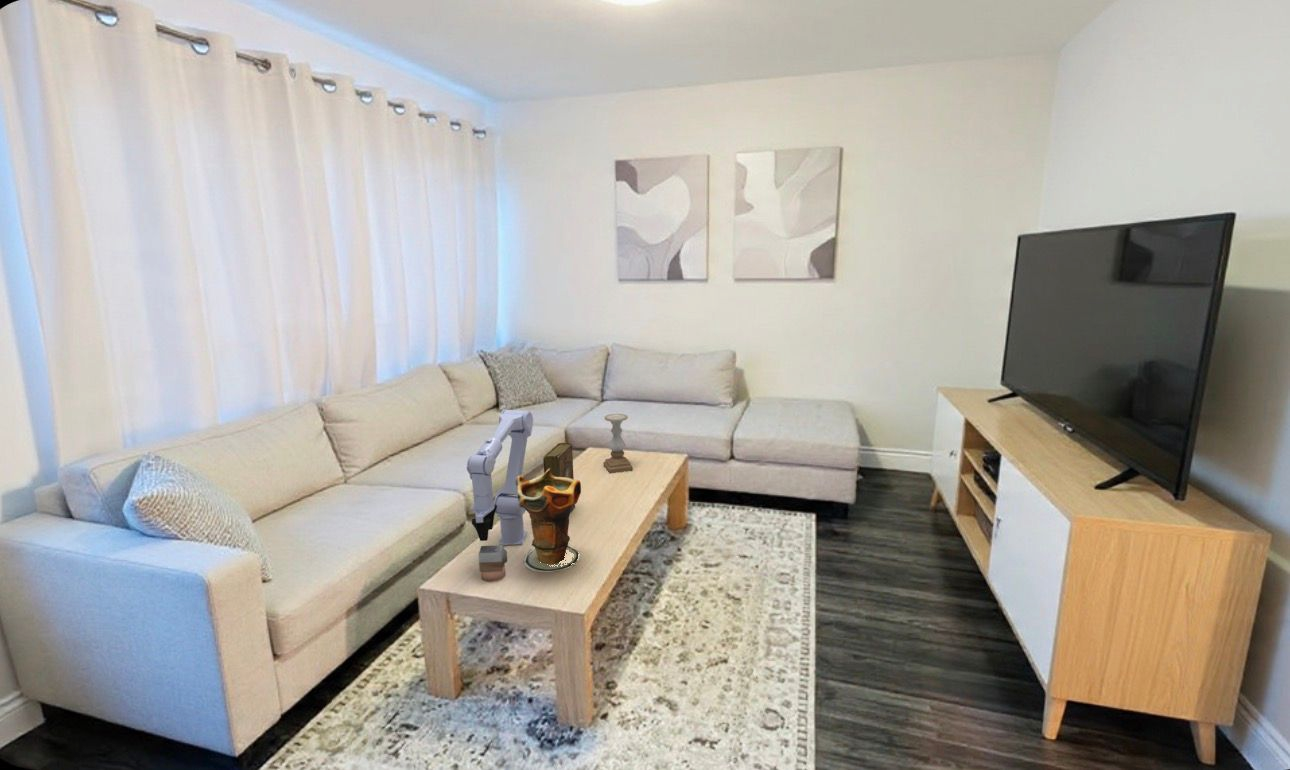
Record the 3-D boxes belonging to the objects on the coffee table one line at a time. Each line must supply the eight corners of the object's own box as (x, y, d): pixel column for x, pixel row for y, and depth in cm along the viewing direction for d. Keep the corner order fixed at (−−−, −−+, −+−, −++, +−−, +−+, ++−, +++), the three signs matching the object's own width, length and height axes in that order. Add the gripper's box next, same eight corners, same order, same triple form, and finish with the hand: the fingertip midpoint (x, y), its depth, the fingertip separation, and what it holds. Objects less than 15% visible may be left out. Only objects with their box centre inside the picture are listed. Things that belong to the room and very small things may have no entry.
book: (562, 505, 230) (559, 442, 225) (576, 506, 229) (573, 443, 224) (547, 523, 214) (543, 456, 209) (561, 524, 213) (558, 457, 208)
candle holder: (603, 465, 273) (601, 414, 268) (626, 462, 276) (624, 412, 271) (609, 473, 263) (607, 420, 258) (633, 470, 266) (631, 418, 261)
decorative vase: (550, 534, 205) (548, 456, 198) (599, 557, 191) (599, 474, 184) (500, 558, 189) (496, 475, 182) (550, 585, 175) (547, 496, 168)
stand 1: (484, 570, 183) (483, 562, 182) (507, 568, 183) (506, 561, 183) (479, 582, 176) (478, 574, 176) (503, 580, 176) (502, 573, 176)
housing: (482, 564, 181) (481, 546, 180) (504, 563, 182) (503, 545, 180) (479, 572, 177) (478, 553, 176) (502, 570, 177) (500, 552, 176)
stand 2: (486, 555, 192) (486, 548, 191) (509, 554, 192) (508, 547, 192) (482, 566, 185) (481, 559, 184) (505, 565, 185) (504, 558, 185)
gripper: (474, 484, 190) (478, 525, 192) (463, 503, 175) (467, 546, 178) (497, 483, 190) (500, 524, 193) (488, 502, 176) (491, 545, 178)
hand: (486, 534), depth 185 cm, fingers open, 7 cm apart
